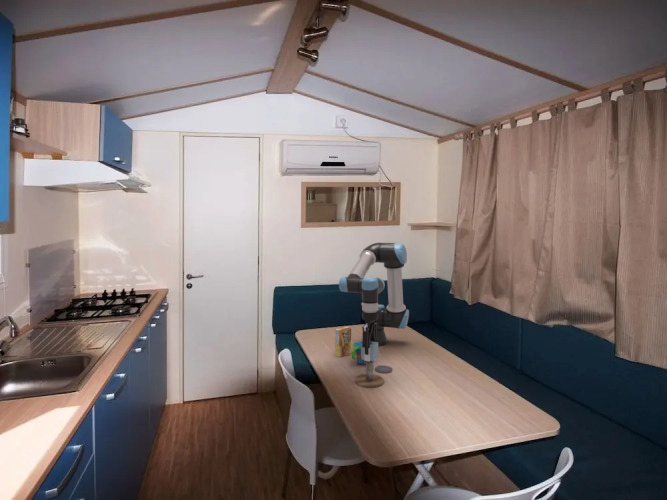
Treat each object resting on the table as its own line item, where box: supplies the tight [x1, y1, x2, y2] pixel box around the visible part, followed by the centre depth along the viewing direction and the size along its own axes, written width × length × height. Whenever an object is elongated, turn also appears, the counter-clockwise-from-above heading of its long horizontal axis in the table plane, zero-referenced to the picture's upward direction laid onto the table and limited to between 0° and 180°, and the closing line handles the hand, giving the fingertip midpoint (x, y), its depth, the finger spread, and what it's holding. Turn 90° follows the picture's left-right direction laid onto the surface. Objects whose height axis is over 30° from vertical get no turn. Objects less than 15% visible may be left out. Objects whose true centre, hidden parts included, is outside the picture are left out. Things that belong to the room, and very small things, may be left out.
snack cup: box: [351, 340, 366, 365], centre depth 214 cm, size 16×10×10 cm
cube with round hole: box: [361, 341, 379, 362], centre depth 189 cm, size 6×6×8 cm
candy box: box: [334, 326, 352, 358], centre depth 226 cm, size 9×4×15 cm, turn 129°
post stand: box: [354, 361, 385, 389], centre depth 190 cm, size 14×14×10 cm
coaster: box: [374, 364, 393, 374], centre depth 204 cm, size 9×9×1 cm
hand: (369, 358), depth 190 cm, fingers closed on cube with round hole, 6 cm apart
